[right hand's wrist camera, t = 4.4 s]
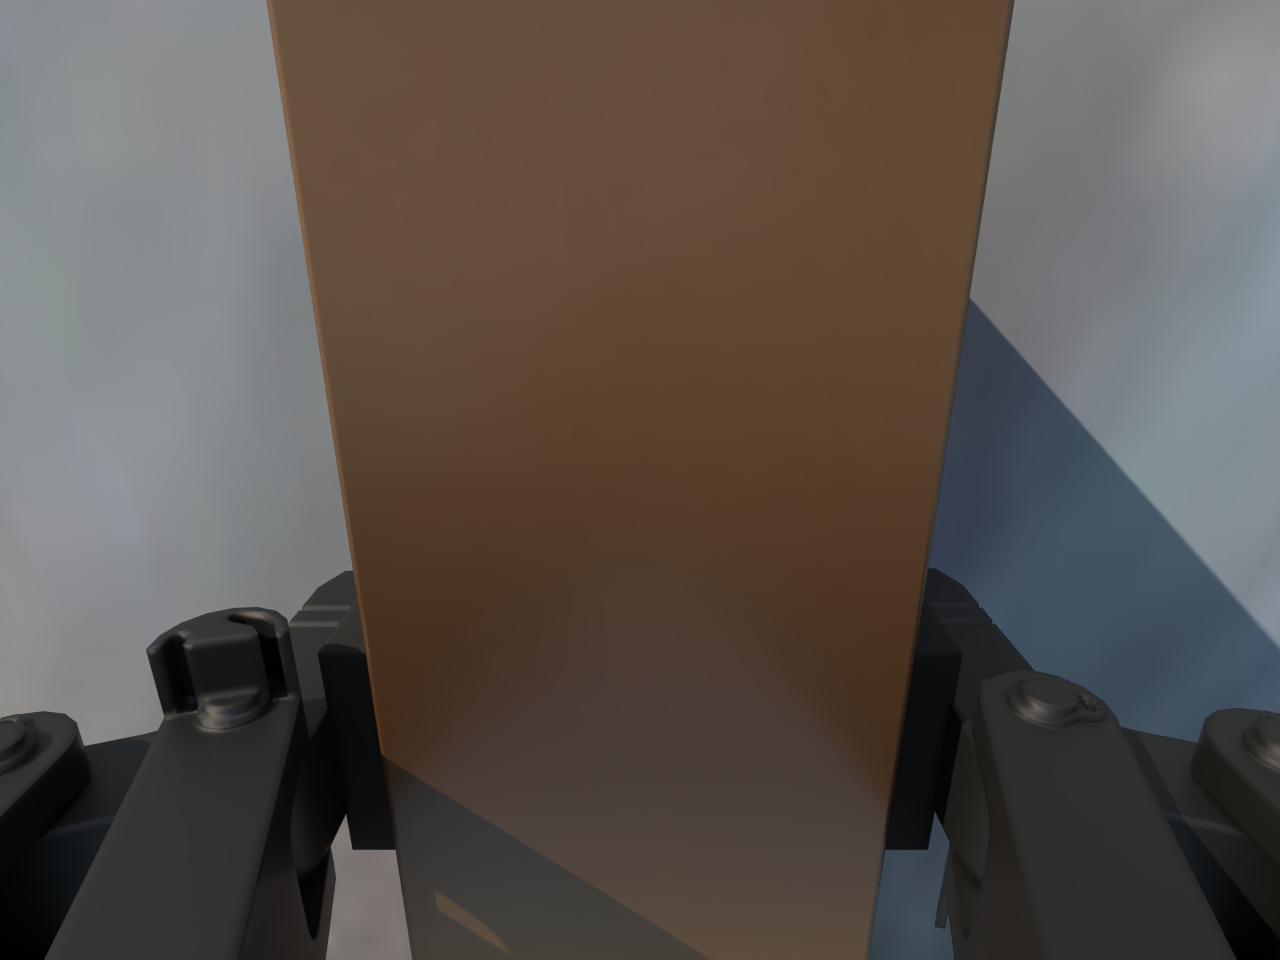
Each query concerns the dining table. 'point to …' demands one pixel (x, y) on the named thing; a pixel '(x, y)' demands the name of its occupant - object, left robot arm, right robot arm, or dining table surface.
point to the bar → (640, 441)
